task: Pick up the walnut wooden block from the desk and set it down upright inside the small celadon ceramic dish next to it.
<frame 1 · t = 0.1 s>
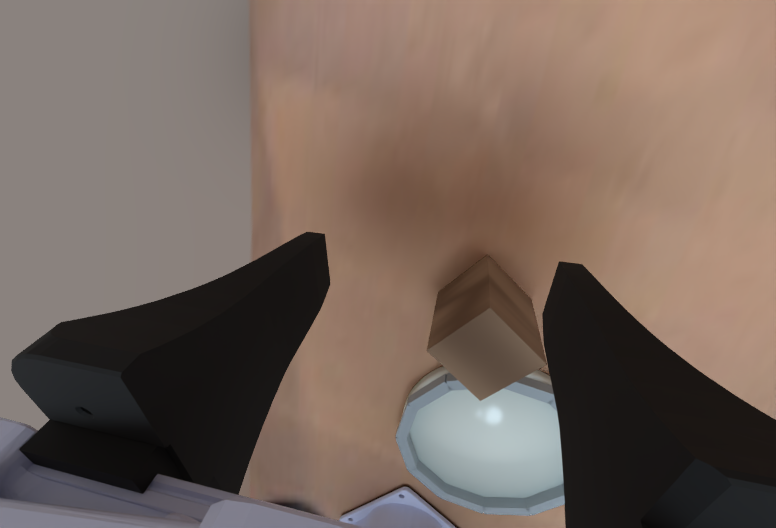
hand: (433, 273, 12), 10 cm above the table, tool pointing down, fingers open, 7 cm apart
dish: (490, 429, 28), on the table
block: (483, 295, 24), on the table
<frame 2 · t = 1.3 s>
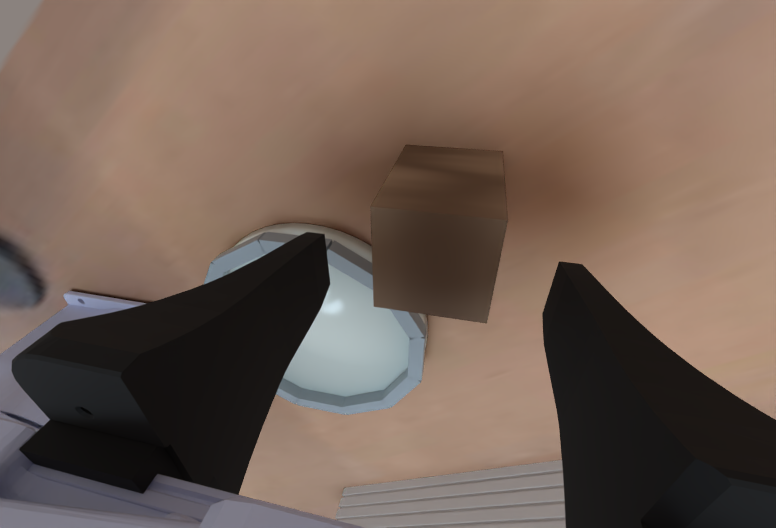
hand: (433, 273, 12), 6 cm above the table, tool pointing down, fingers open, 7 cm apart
dish: (321, 317, 23), on the table
block: (448, 192, 17), on the table
grey ribbed box: (531, 497, 31), on the table
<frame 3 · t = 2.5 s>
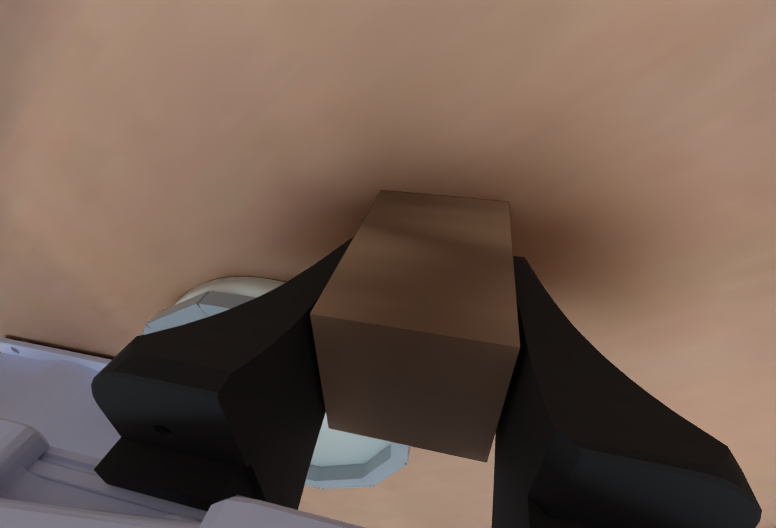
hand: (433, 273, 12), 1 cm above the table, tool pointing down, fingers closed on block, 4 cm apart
dish: (289, 380, 19), on the table
block: (438, 249, 13), on the table, touching gripper
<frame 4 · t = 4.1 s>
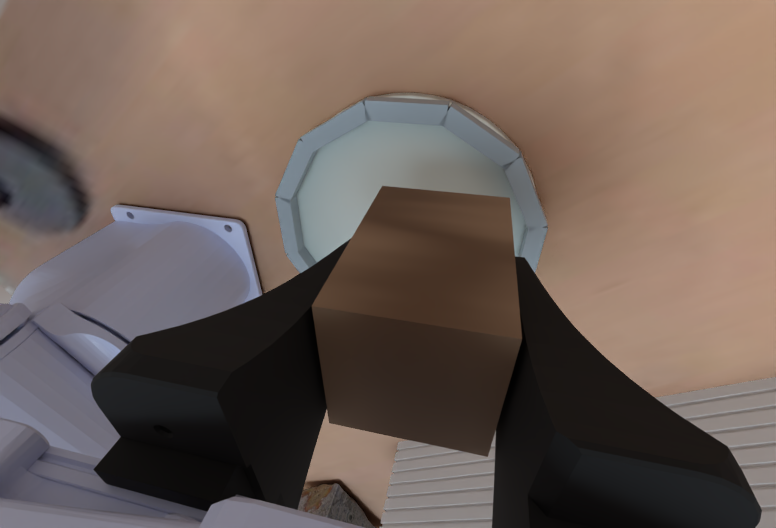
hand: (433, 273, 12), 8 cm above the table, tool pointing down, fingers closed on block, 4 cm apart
dish: (408, 222, 21), on the table
block: (439, 245, 13), point 7 cm above the table, touching gripper
geological specimen: (346, 502, 44), on the table
grey ribbed box: (613, 447, 28), on the table
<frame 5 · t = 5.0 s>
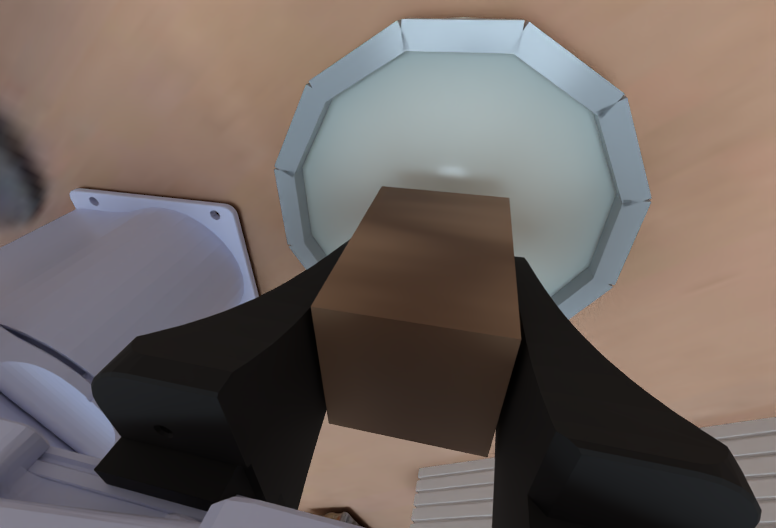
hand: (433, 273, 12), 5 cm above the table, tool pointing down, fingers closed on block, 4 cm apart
dish: (447, 203, 16), on the table
block: (438, 245, 13), point 4 cm above the table, touching gripper
grey ribbed box: (681, 476, 23), on the table
when the fingers open (4 cm above the table, at t = 5.7 s): block stays where it is, resting on dish.
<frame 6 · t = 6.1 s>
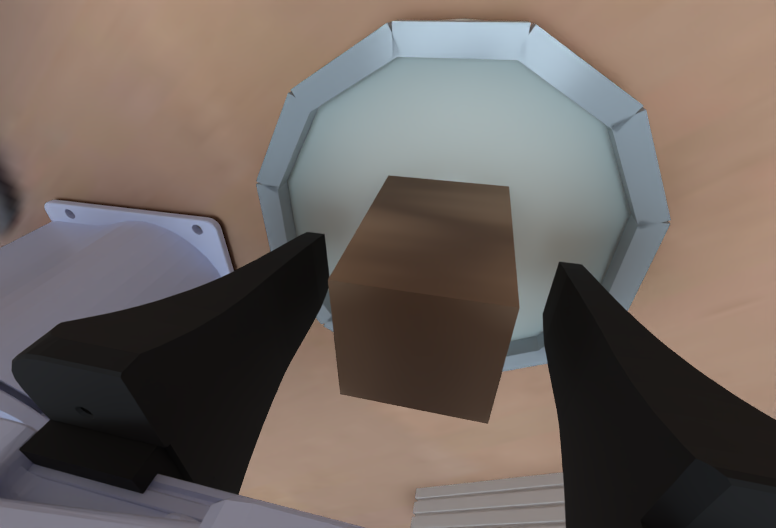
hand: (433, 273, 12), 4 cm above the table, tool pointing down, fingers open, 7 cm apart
dish: (444, 219, 15), on the table
block: (441, 232, 14), point 1 cm above the table, touching dish
grey ribbed box: (691, 503, 22), on the table
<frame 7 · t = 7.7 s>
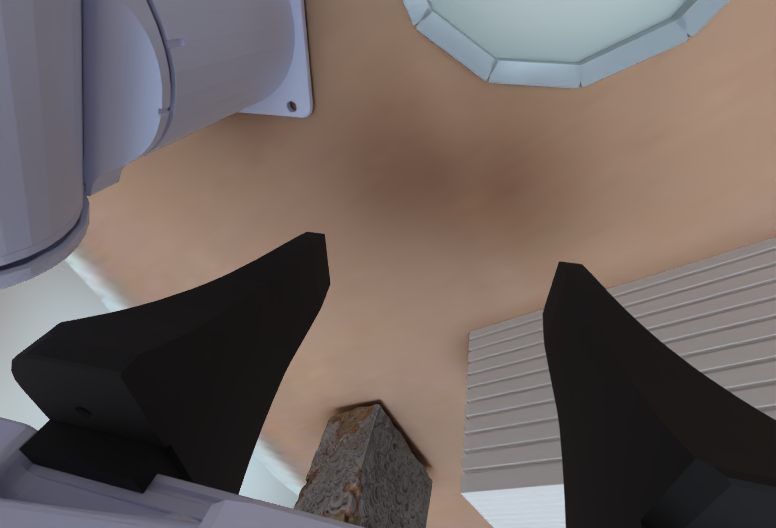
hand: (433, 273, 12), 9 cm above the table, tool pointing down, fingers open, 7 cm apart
geological specimen: (383, 435, 36), on the table
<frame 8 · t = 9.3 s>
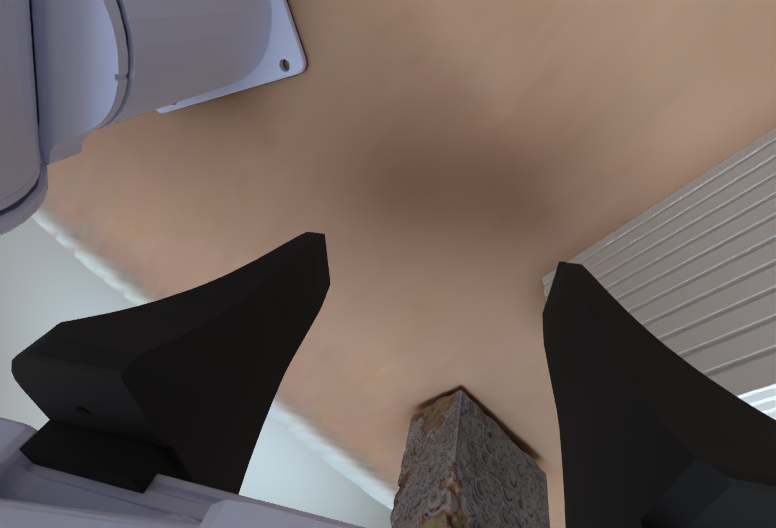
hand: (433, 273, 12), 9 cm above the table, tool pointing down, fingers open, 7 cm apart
geological specimen: (476, 428, 32), on the table
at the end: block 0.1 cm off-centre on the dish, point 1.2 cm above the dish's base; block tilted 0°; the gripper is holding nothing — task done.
